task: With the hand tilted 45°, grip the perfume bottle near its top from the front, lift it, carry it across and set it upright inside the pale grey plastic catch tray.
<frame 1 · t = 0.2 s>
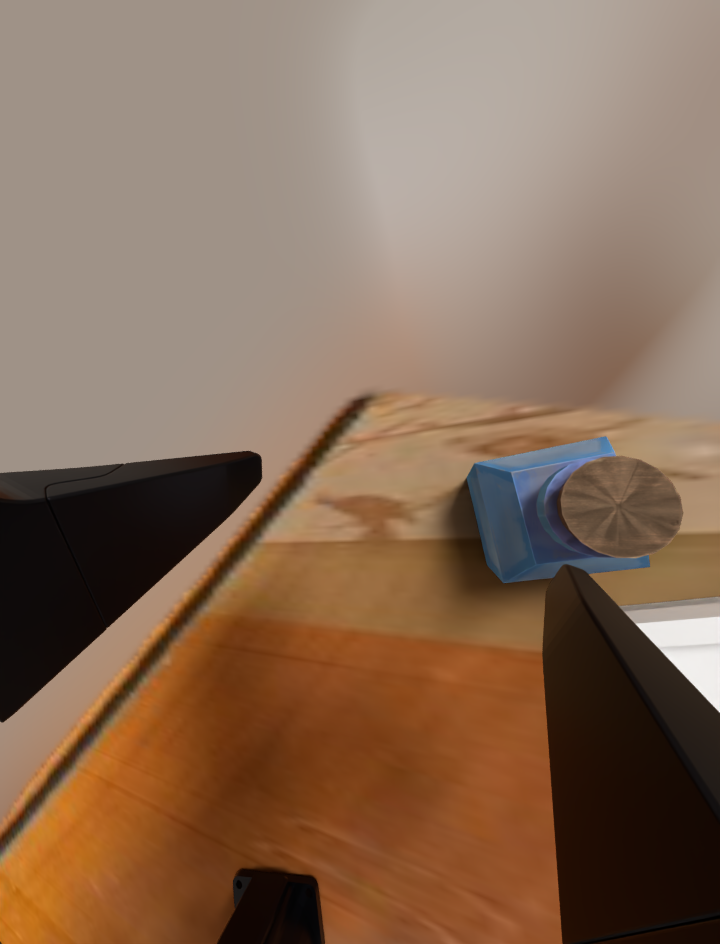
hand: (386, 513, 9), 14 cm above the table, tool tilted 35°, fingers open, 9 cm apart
perfume bottle: (522, 512, 21), on the table
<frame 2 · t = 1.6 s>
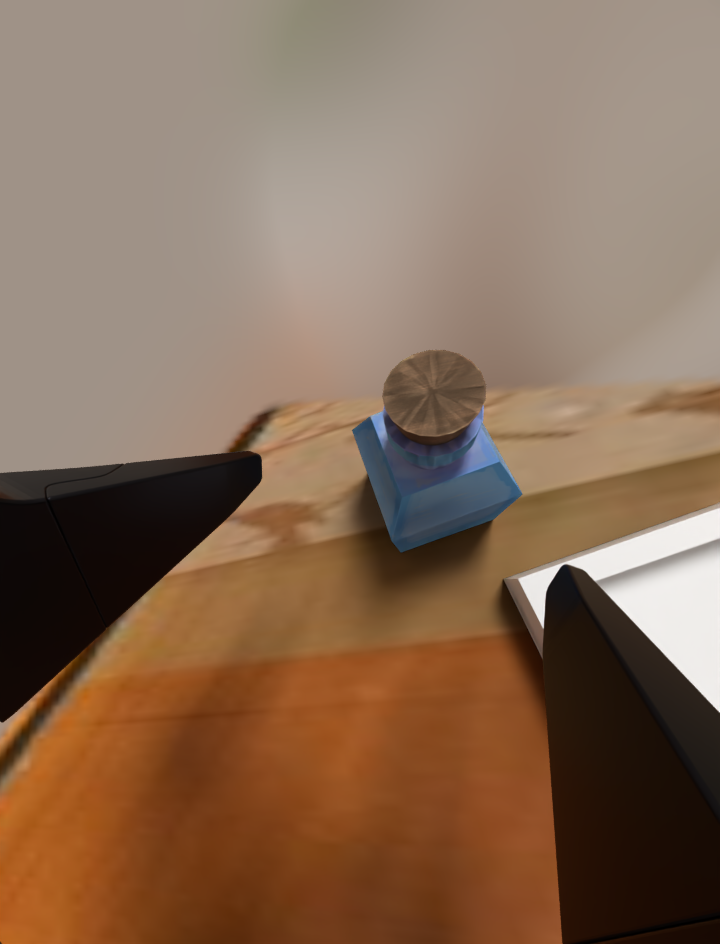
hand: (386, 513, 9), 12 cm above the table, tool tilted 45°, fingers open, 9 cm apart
catch tray: (693, 666, 15), on the table
perfume bottle: (427, 493, 21), on the table
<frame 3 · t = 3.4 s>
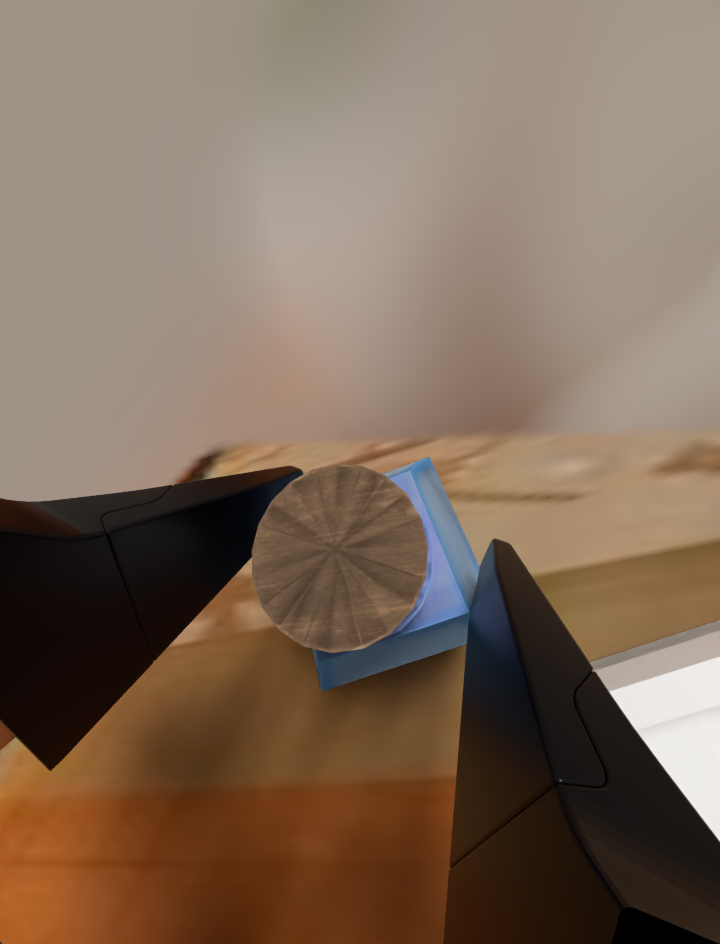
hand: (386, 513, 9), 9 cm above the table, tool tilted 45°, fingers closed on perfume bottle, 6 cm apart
perfume bottle: (395, 569, 17), on the table, touching gripper
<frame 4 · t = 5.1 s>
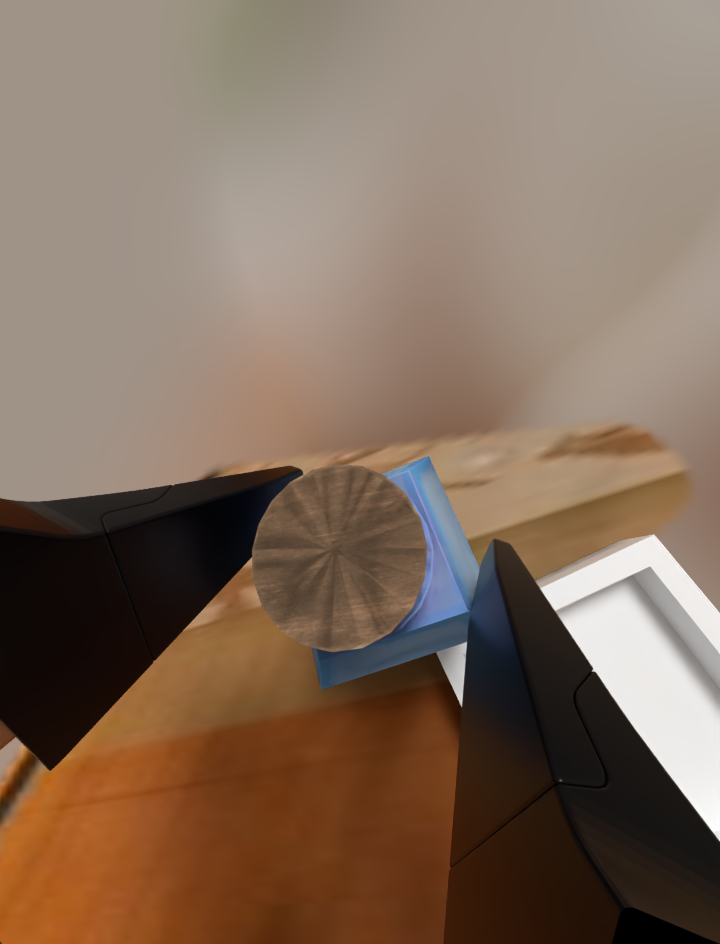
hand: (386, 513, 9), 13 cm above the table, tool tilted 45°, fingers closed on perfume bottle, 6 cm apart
catch tray: (595, 702, 17), on the table
perfume bottle: (395, 567, 17), point 4 cm above the table, touching gripper
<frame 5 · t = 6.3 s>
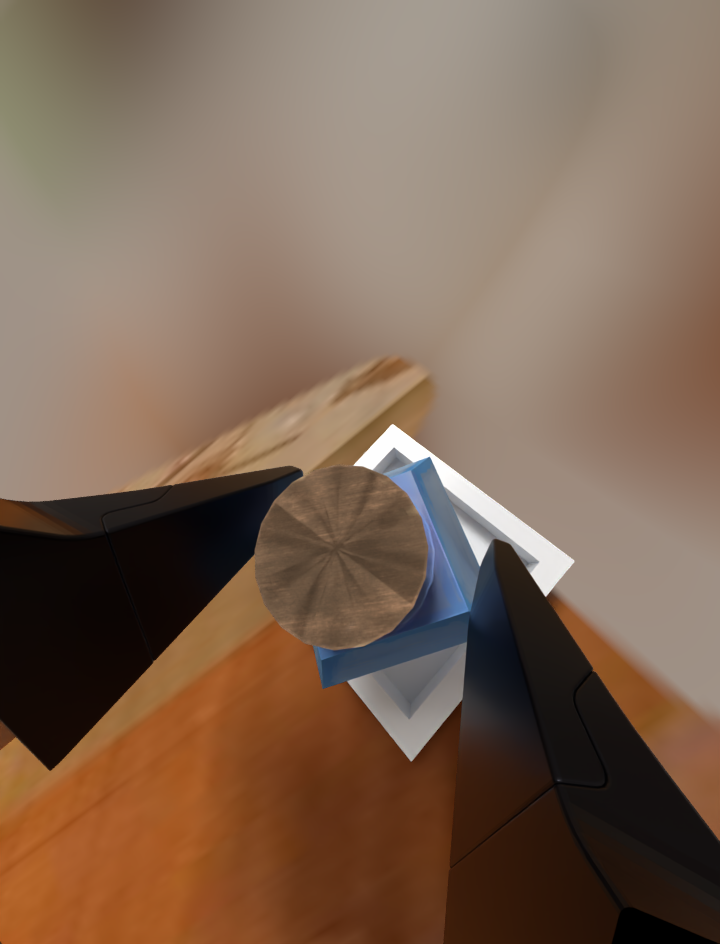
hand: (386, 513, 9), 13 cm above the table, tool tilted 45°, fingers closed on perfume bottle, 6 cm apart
catch tray: (403, 566, 21), on the table
perfume bottle: (396, 567, 17), point 4 cm above the table, touching gripper
when the fingers open (10 cm above the table, at t = 7.3 s): perfume bottle stays where it is, resting on catch tray.
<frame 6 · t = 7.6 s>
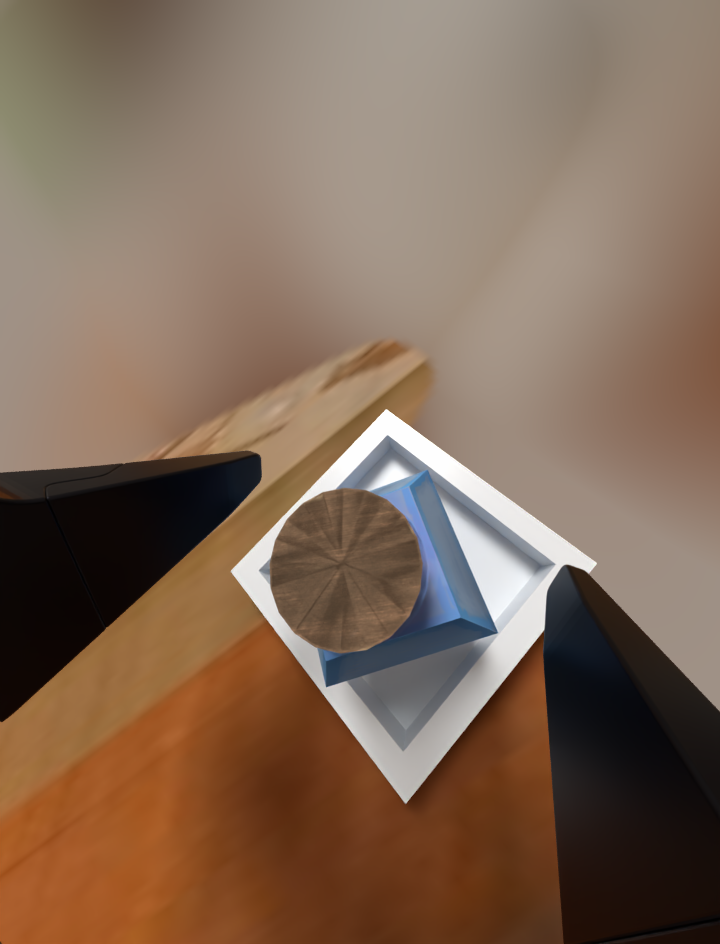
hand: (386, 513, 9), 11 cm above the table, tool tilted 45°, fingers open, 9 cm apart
catch tray: (398, 569, 18), on the table
perfume bottle: (395, 572, 17), point 1 cm above the table, touching catch tray
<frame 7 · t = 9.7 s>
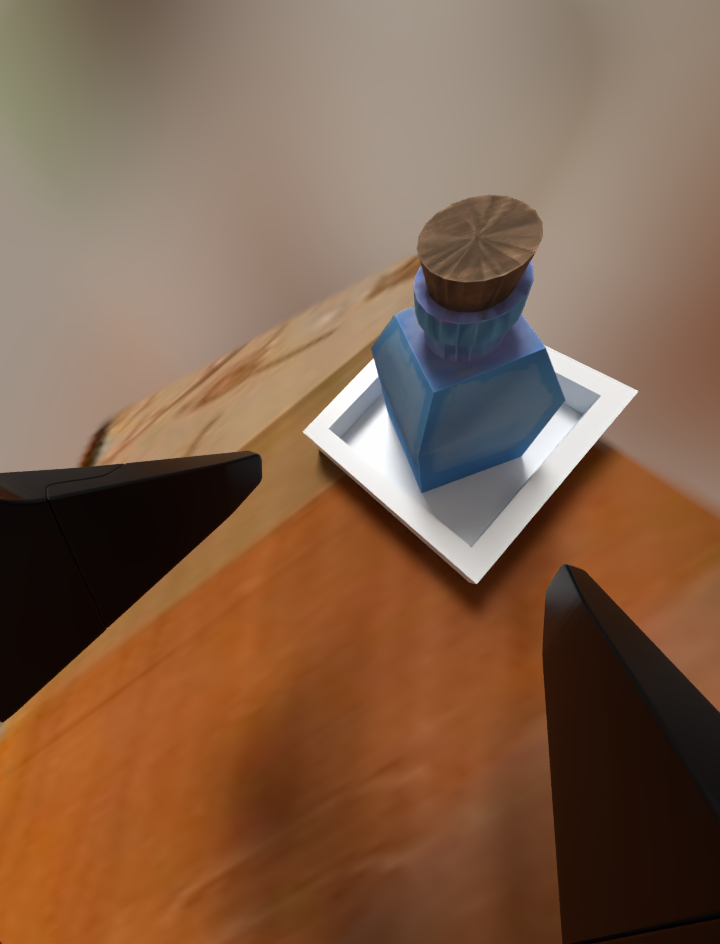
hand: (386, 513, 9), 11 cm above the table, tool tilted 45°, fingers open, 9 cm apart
catch tray: (450, 435, 20), on the table
perfume bottle: (449, 433, 19), point 1 cm above the table, touching catch tray
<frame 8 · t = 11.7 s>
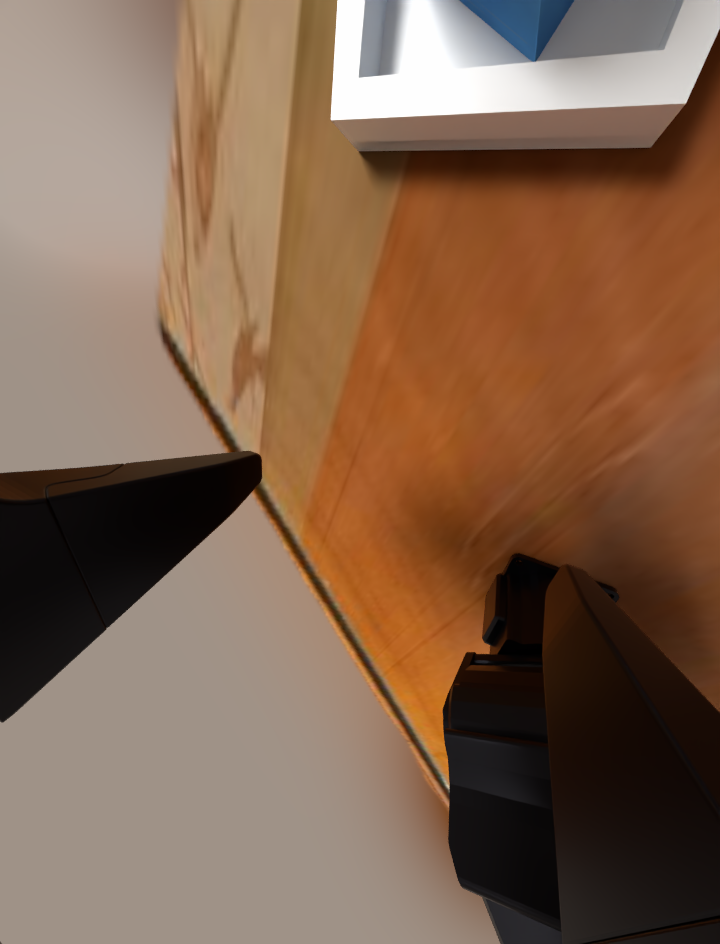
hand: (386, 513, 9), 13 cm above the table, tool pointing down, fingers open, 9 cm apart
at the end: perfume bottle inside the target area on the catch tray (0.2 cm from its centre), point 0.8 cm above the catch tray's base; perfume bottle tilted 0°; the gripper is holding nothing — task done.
